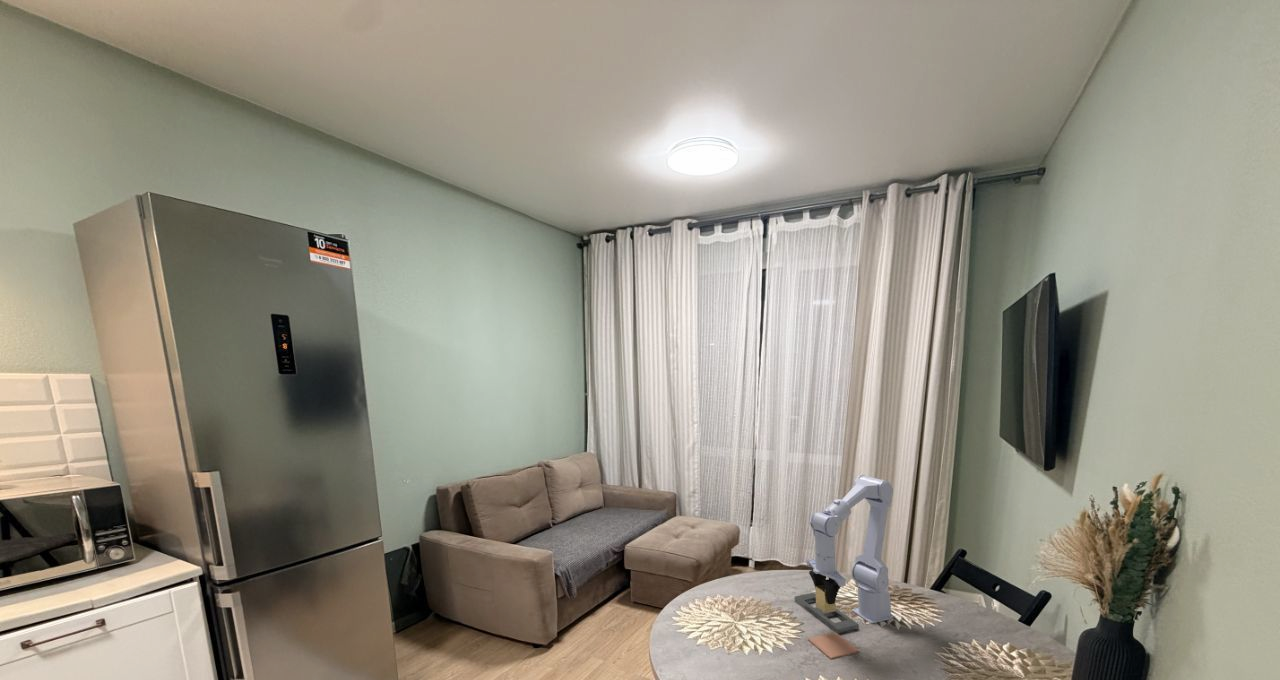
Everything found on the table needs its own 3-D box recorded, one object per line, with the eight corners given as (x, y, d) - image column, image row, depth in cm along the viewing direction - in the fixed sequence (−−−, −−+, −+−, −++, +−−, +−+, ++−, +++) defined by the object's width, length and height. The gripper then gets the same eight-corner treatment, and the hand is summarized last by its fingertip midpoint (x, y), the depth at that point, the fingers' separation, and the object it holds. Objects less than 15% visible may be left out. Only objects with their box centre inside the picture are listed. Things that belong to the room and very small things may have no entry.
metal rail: (813, 597, 155) (813, 592, 155) (858, 629, 136) (858, 624, 136) (794, 600, 152) (794, 596, 152) (837, 634, 133) (837, 629, 134)
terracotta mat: (835, 633, 134) (835, 632, 134) (858, 651, 125) (858, 650, 125) (808, 640, 131) (808, 638, 131) (830, 659, 122) (830, 657, 122)
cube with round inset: (826, 604, 137) (826, 584, 138) (835, 610, 134) (835, 590, 134) (815, 606, 136) (815, 586, 136) (825, 613, 132) (824, 592, 133)
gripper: (798, 546, 141) (799, 590, 141) (831, 565, 128) (832, 614, 127) (816, 543, 144) (817, 586, 143) (851, 562, 130) (852, 610, 129)
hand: (825, 599), depth 135 cm, fingers closed on cube with round inset, 4 cm apart
